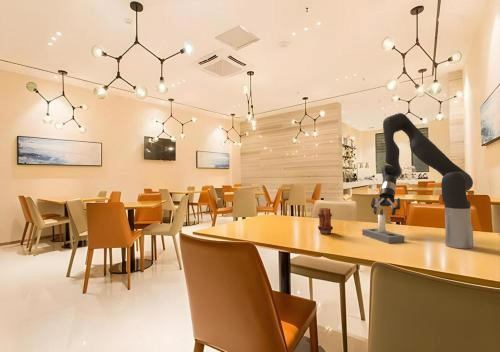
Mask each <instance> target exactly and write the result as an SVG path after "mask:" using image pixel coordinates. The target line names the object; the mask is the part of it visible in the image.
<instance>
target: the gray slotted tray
mask: <svg viewBox="0 0 500 352" xmlns="http://www.w3.org/2000/svg"><path fill="white" fill-rule="evenodd" d="M361 230H362V231H361V233H362V234H361V235H362V236H365V237H368V238H370V239H374V240H377V241H380V242H383V243H387V244H398V243H405V242H406V241H405V240H406V239H405V235H402V234H401V233H400V234H399V233H395V232H391V231H388V230H386V233H378V227H377V228H366V229H365V228H364V229H361Z"/></svg>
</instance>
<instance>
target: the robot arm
mask: <svg viewBox="0 0 500 352" xmlns="http://www.w3.org/2000/svg"><path fill="white" fill-rule="evenodd" d="M382 130H383V135H384V136H383V138H384V144H385V157H384V158H385V159H384V160H385V164H384V165H383V166H382V168H381V175H382V184H381V187H380V191H379V196H378V198H375V197H372V199H371V204H370V207H371V209H373V210H372V211H373V214H374V215H378V214H377V213H378V209H379V208H380V209H381V207H388V208H389V207H391V216H392V217H394V216H395V215H396V213H397V212H396V211H397V210H399V211H400V210H401V199H400V197H398V198H396V197H395V196H396V189H397V188H396V186H397V178H399V177H401V175H402V168H401V164H400V148H399V146H398V145H397V143H396V142H395V139H394V135H395V134H396V133H398V132H400V131H402V132H403V133H405V135H406V136H407V137H408V141H409V142H408V143H409V148H410V150H411V153H412V154H413V155H414V156H415V157H416V158H417V159H419V160H420V161H421V162H422V163H424V164H425V165H427V166H429V167H430V168H432V169H434V170H436V171H437V172H438V174H440V175H441V176H442V178H441V182H440V183H441V199H442V203H443V204H444V226H445V227H444V228H445V230H444V231H445V232H444V233H445V246H446V247H449V248H454V249H464V250H465V249H466V250H467V249H472V248H473V247H474V226H473V225H472V210H471V209H472V208H471V202H470V201H469V200H468V198H467V191H469V190H471V189H472V188H473V185H474V179H473V178H472V176H471V175H470V174H469V173H467V172H466V171H465V170H464V169H463V168H461V167H460V166H458V165H457V164H455V163H454V162H453V161H452V160H451V159H450V158H449V157H448V156H447V155H446V154H445V153H444V152H443V151H442V150H440V148H438V146H436V144H435V143H433V142H432V141H431V140H430V139H429V138H427V136H426V135H425V134H424V133H423V132H421V130H419V129H418V128H417V126H416V125H415V124H414V123H413V121H412V120H411V119H410V118H409V117H408V116H407V115H406V114H404V113H401V112H400V113H399V112H398V113H395V114H393V115H390V116H387V117H385V118H384V119H383V123H382ZM395 198H396V199H395ZM394 203H396V205H395V204H394Z"/></svg>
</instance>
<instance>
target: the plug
mask: <svg viewBox="0 0 500 352" xmlns="http://www.w3.org/2000/svg"><path fill="white" fill-rule="evenodd" d="M377 229H378V233H386V231H387V228H386V215H385V214H384V210H383V208H380V209H379V214H377Z"/></svg>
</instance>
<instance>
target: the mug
mask: <svg viewBox="0 0 500 352" xmlns="http://www.w3.org/2000/svg"><path fill="white" fill-rule="evenodd" d="M317 216H318V224H319V225H318V226H317V229H318V230H319V233H320V234H322V235H323V234H325V235H327V234H329V235H330V234H332V231H333V229H334V227H333V226H332V219H331V218H332V216H333V214H332V212H331V209H330V208H327V207H321V208H319V209H318V213H317Z"/></svg>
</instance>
